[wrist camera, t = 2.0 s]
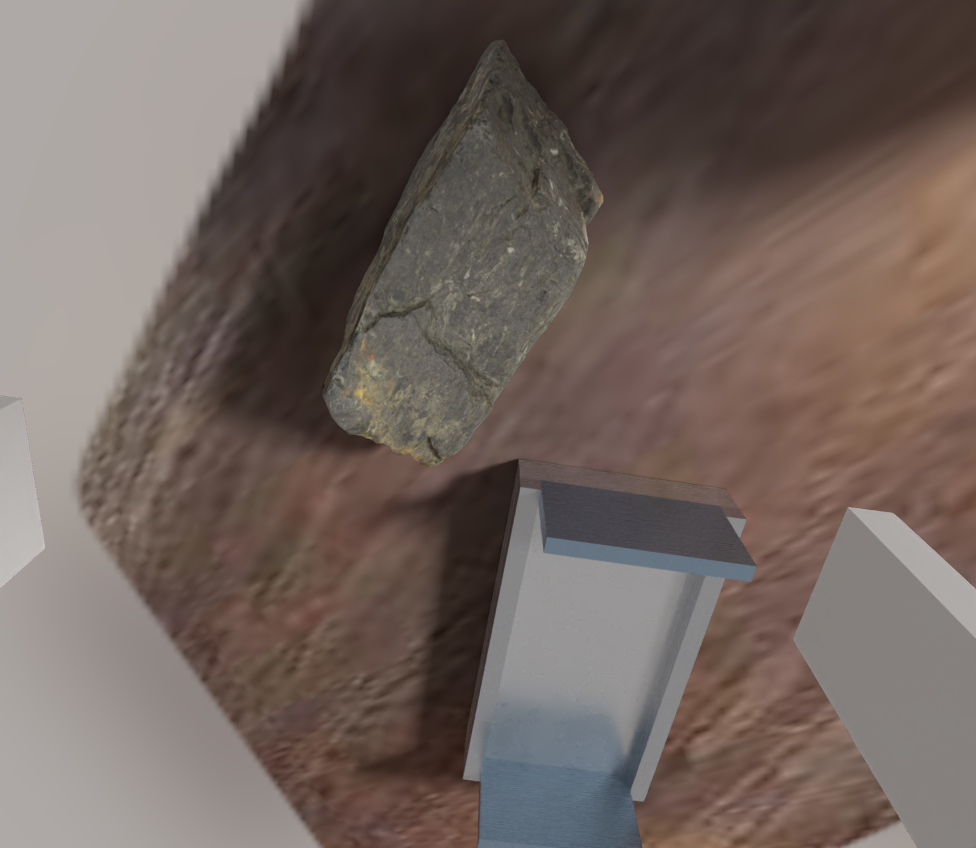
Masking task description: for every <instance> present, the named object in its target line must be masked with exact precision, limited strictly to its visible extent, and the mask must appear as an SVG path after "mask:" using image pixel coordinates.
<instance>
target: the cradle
mask: <svg viewBox="0 0 976 848" xmlns="http://www.w3.org/2000/svg"><path fill="white" fill-rule="evenodd" d="M745 522H746V518H745V517H744V515H743V513H742V512H741V510H740V509H739V507H738V506H737V504H736V503H735V501H734V500H733V498H732V497H731V495H730V494H729V492H728V491H727V489H723V488H716V487H709V486H702V485H695V484H688V483H681V482H674V481H668V480H661V479H654V478H647V477H640V476H633V475H626V474H620V473H613V472H606V471H599V470H592V469H585V468H578V467H571V466H565V465H558V464H551V463H544V462H537V461H530V460H523V459H519V461H518V466H517V471H516V476H515V481H514V487H513V492H512V497H511V502H510V507H509V513H508V518H507V523H506V528H505V533H504V539H503V544H502V549H501V554H500V559H499V565H498V570H497V575H496V580H495V585H494V590H493V596H492V601H491V606H490V611H489V616H488V622H487V627H486V632H485V637H484V642H483V648H482V653H481V658H480V663H479V668H478V674H477V679H476V684H475V689H474V694H473V700H472V705H471V710H470V715H469V720H468V725H467V731H466V736H465V751H464V768H463V779H464V780H472V781H479V811H478V842H477V848H642V844H641V839H640V834H639V829H638V824H637V819H636V814H635V809H634V804H633V800H635V801H643V802H644V799H645V797H646V794H647V791H648V788H649V786H650V783H651V780H652V777H653V775H654V772H655V769H656V766H657V764H658V761H659V758H660V756H661V753H662V750H663V747H664V745H665V742H666V739H667V736H668V734H669V731H670V728H671V725H672V723H673V720H674V717H675V714H676V712H677V709H678V706H679V703H680V701H681V698H682V695H683V692H684V690H685V687H686V684H687V681H688V679H689V676H690V673H691V670H692V668H693V665H694V662H695V659H696V657H697V654H698V651H699V648H700V646H701V643H702V640H703V637H704V635H705V632H706V629H707V627H708V624H709V621H710V618H711V616H712V613H713V610H714V607H715V605H716V602H717V599H718V596H719V594H720V591H721V588H722V585H723V583H724V580H725V578H727V579H734V580H741V581H748V582H751V580H752V578H753V575H754V573H755V570H756V567H757V566H756V564H755V563H754V561H753V559H752V558H751V556H750V555H749V553H748V551H747V550H746V548H745V546H744V545H743V543H742V541H741V540H740V536H741V533H742V530H743V528H744V525H745Z"/></svg>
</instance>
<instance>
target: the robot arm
mask: <svg viewBox="0 0 976 848" xmlns="http://www.w3.org/2000/svg"><path fill="white" fill-rule="evenodd" d="M44 549H45V543H44V537H43V531H42V524H41V519H40V512H39V505H38V499H37V493H36V487H35V481H34V474H33V468H32V461H31V455H30V448H29V442H28V436H27V429H26V424H25V417H24V411H23V404H22V398H15V397H7V396H0V587H2V586H3V585H4V584H5V583H6V582H7V581H9V580H10V579H11V578H12V577H13V576H14V575H15V574H16V573H18V572H19V571H20V570H21V569H22V568H23V567H24V566H25V565H27V564H28V563H29V562H30V561H31V560H32V559H33V558H34V557H36V555H38V554H39V553H40V552H41V551H42V550H44ZM793 641H794V642H795V644H796V646H797V647H798V649H799V651H800V652H801V654H802V656H803V657H804V659H805V661H806V662H807V664H808V666H809V667H810V669H811V671H812V672H813V674H814V676H815V677H816V679H817V681H818V682H819V684H820V686H821V687H822V689H823V691H824V692H825V694H826V696H827V697H828V699H829V701H830V702H831V704H832V706H833V707H834V709H835V711H836V712H837V714H838V716H839V717H840V719H841V721H842V722H843V724H844V726H845V727H846V729H847V731H848V732H849V734H850V736H851V737H852V739H853V741H854V742H855V744H856V746H857V747H858V749H859V751H860V752H861V754H862V756H863V757H864V759H865V761H866V763H867V764H868V766H869V768H870V769H871V771H872V773H873V774H874V776H875V778H876V779H877V781H878V783H879V784H880V786H881V788H882V789H883V791H884V793H885V794H886V796H887V798H888V799H889V801H890V803H891V804H892V806H893V808H894V809H895V811H896V813H897V814H898V816H899V818H900V819H901V821H902V823H903V824H904V826H905V827H906V829H907V831H908V833H909V834H910V836H911V838H912V839H913V841H914V843H915V844H916V846H917V847H918V848H976V589H975V588H974V587H973V586H972V585H971V584H970V583H969V582H968V581H966V580H965V579H964V578H963V577H962V576H961V575H960V574H959V573H958V572H957V571H956V570H955V569H953V568H952V567H951V566H950V565H949V564H948V563H947V562H946V561H945V560H944V559H943V558H942V557H940V556H939V555H938V554H937V553H936V552H935V551H934V550H933V549H932V548H931V547H930V546H929V545H927V544H926V543H925V542H924V541H923V540H922V539H921V538H920V537H919V536H918V535H917V534H916V533H915V532H913V531H912V530H911V529H910V528H909V527H908V526H907V525H906V524H905V523H904V522H903V521H902V520H900V519H899V518H898V517H897V516H896V515H895V514H894V513H889V512H881V511H874V510H866V509H858V508H851V507H848V508H847V511H846V513H845V515H844V518H843V520H842V523H841V525H840V528H839V530H838V532H837V535H836V537H835V540H834V542H833V544H832V547H831V549H830V552H829V554H828V556H827V559H826V561H825V564H824V566H823V568H822V571H821V573H820V576H819V578H818V580H817V583H816V585H815V588H814V590H813V592H812V595H811V597H810V600H809V602H808V604H807V607H806V609H805V612H804V614H803V617H802V619H801V621H800V624H799V626H798V629H797V631H796V633H795V636H794V638H793Z"/></svg>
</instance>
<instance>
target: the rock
mask: <svg viewBox="0 0 976 848" xmlns="http://www.w3.org/2000/svg"><path fill="white" fill-rule="evenodd" d="M602 203H603V194H602V193H601V191H600V189H599V187H598V185H597V183H596V182H595V180H594V174H593V173H592V172H591V171H590V170H589V169H588V167H587V164H586V162H585V160H584V159H583V157H582V156H581V155H580V154H579V153H578V152H577V150H576V149H575V147H574V146H573V144H572V142H571V139H570V136H569V133H568V129H567V128H566V126H565V125H564V123H563V122H562V120H560V119H559V118H558V117H557V115H556V114H555V113H553V112H552V111H551V110H549V109H548V108H547V107H546V104H545V103H544V102H543V100H542V99H541V98H540V96H539V94H538V92H537V90H536V89H535V88H534V87H533V86H532V85H531V84H530V83H529V82H528V81H527V79H526V78H525V76H524V74H523V73H522V71H521V67H520V66H519V63H518V61H517V60H516V59H515V57H514V56H513V55H512V54H511V52H510V50H509V49H508V47H507V43H506V42H505V41H504V40H496V41H493V42H491V43H490V45H489V46H488V47H487V49H486V50H485V51H484V53H483V54H482V55H481V57H480V59H479V61H478V64H477V66H476V68H475V70H474V71H473V73H472V74H471V76H470V78H469V80H468V83H467V85H466V87H465V89H464V91H463V93H462V94H461V95H460V96H459V99H458V101H457V102H456V104H455V105H454V106H453V107H452V109H451V110H450V113H449V115H448V117H447V118H446V119H445V121H444V122H443V124H442V125H441V127H440V128H439V130H438V131H437V132H436V134H435V135H434V136H433V138H432V139H431V140H430V142H429V143H428V145H427V147H426V148H425V150H424V152H423V154H422V155H421V157H420V159H419V161H418V162H417V164H416V166H415V168H414V169H413V172H412V174H411V176H410V179H409V181H408V183H407V185H406V187H405V189H404V191H403V194H402V196H401V199H400V201H399V203H398V205H397V207H396V208H395V210H394V212H393V214H392V216H391V218H390V220H389V222H388V224H387V226H386V229H385V231H384V236H383V239H382V242H381V244H380V247H379V249H378V252H377V254H376V256H375V258H374V259H373V261H372V263H371V264H370V266H369V268H368V269H367V271H366V273H365V275H364V277H363V279H362V282H361V284H360V286H359V288H358V290H357V292H356V294H355V296H354V301H353V304H352V306H351V308H350V310H349V313H348V316H347V319H346V325H345V329H344V330H345V336H344V340H343V344H342V347H341V349H340V351H339V353H338V355H337V356H336V358H335V359H334V361H333V363H332V364H331V367H330V371H329V374H328V375H327V377H326V380H325V382H324V384H323V387H322V396H323V399H324V401H325V403H326V405H327V407H328V410H329V413H330V415H331V418H332V419H333V420H334V421H335V422H336V423H337V424H338V425H339V426H340V427H341V428H342V429H343V430H346V432H347V433H348V434H350V435H360V436H363V437H365V438H368V439H371V440H373V441H374V442H375V443H384V444H385V445H387V446H388V447H389V448H390V449H391V450H392V451H393V452H394V453H395V454H396V455H404V454H406V453H408V452H409V453H410V454H412V455H413V459H414V460H416V461H419V462H420V464H423V465H426V466H427V467H437V466H438V465H439V464H440V463H441V462H442V461H443V460H444V459H446V458H449V457H451V456H453V455H454V454H456V453H457V452H458V451H459V450H460V449H462V448H463V447H464V445H465V444H466V443H467V442H468V441H469V439H470V438H471V436H472V434H473V433H474V431H475V429H476V428H477V427H478V426H479V425H480V424H481V423H482V422H483V421H484V420H485V419H486V417H487V416H488V415H489V413H490V412H491V410H492V407H493V403H494V402H495V401H496V399H497V398H498V396H499V395H500V394H501V392H502V391H503V389H504V388H505V386H506V385H507V383H508V382H509V380H510V379H511V377H512V376H513V374H514V372H515V371H516V369H517V368H518V366H519V365H520V364H521V362H522V361H523V360H524V359H525V356H526V354H527V353H528V351H529V350H530V349H531V347H532V346H533V345H534V343H535V342H536V340H537V339H538V337H539V336H540V335H541V334H542V333H543V332H544V331H545V330H546V329H547V328H548V326H549V325H550V324H551V322H552V320H553V319H554V317H555V316H556V314H557V313H558V311H559V310H560V309H561V307H562V306H563V304H564V303H565V301H566V300H567V299H568V297H569V296H570V294H571V293H572V290H573V288H574V286H575V283H576V281H577V279H578V277H579V275H580V273H581V270H582V268H583V265H584V263H585V260H586V254H587V252H588V246H589V243H588V238H587V233H586V226H587V225H588V224H589V223H590V222H591V220H592V219H593V217H594V216H595V214H596V213H597V211H598V209H599V208H600V206H601V204H602Z"/></svg>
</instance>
